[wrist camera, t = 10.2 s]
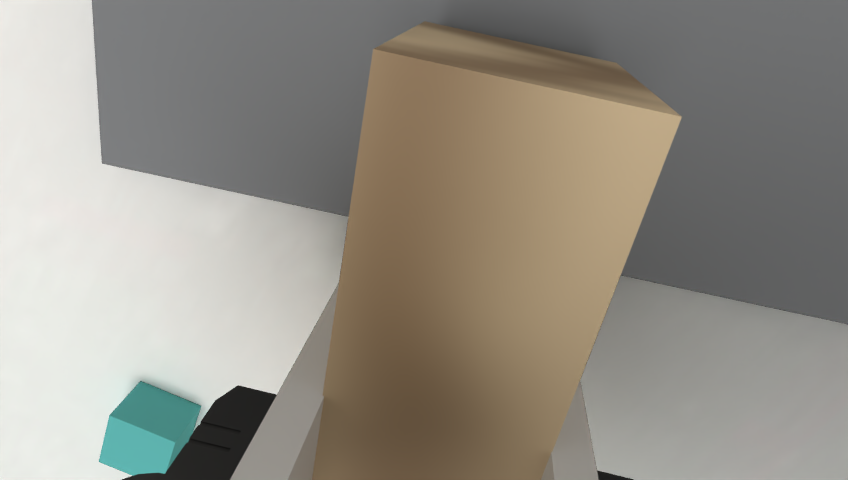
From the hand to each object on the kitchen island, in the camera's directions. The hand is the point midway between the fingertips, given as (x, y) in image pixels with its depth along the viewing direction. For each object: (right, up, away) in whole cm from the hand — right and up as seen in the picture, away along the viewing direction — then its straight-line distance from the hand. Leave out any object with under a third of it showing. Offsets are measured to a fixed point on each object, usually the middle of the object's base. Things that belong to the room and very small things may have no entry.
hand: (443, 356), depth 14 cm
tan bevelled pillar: (0, +1, +1) cm, 1 cm away
